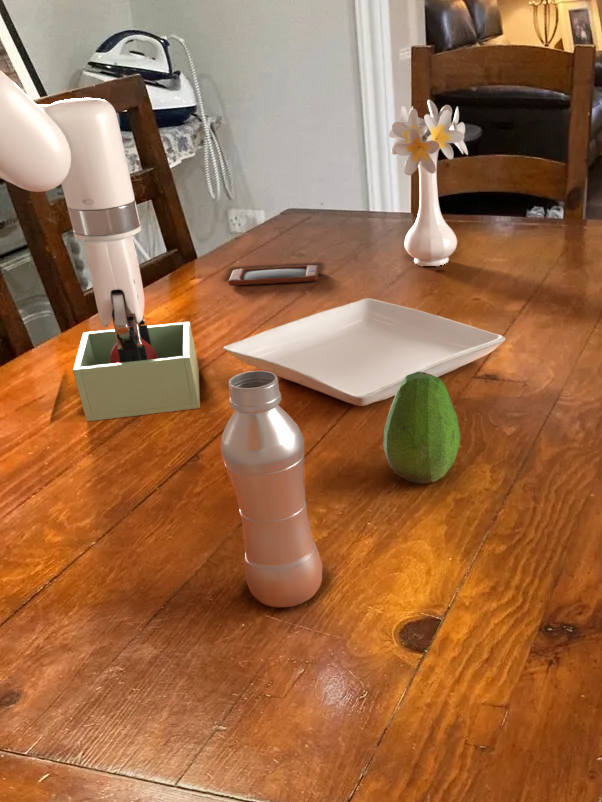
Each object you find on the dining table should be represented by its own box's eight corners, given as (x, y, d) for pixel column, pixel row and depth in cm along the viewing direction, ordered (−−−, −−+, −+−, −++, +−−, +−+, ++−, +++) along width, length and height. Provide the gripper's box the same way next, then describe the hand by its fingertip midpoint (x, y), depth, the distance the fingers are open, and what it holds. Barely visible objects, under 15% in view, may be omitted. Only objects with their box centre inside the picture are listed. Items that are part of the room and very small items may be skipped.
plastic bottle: (339, 599, 82) (312, 381, 70) (268, 626, 79) (228, 404, 67) (305, 566, 86) (275, 357, 74) (237, 591, 83) (194, 377, 71)
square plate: (362, 426, 111) (359, 395, 108) (223, 372, 126) (218, 344, 124) (508, 359, 127) (508, 331, 124) (369, 319, 142) (367, 293, 140)
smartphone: (316, 276, 158) (227, 280, 157) (317, 281, 158) (228, 286, 158) (318, 264, 163) (232, 268, 163) (319, 269, 164) (233, 274, 163)
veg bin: (86, 421, 114) (72, 370, 110) (95, 380, 125) (82, 332, 121) (199, 408, 116) (189, 357, 113) (199, 369, 127) (189, 321, 123)
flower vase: (395, 280, 158) (385, 115, 143) (398, 250, 173) (388, 98, 158) (472, 277, 158) (469, 112, 143) (468, 247, 173) (465, 95, 158)
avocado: (454, 499, 95) (450, 388, 89) (379, 494, 97) (370, 385, 90) (466, 463, 102) (464, 357, 95) (396, 460, 103) (389, 354, 96)
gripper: (78, 206, 115) (113, 347, 125) (63, 241, 101) (104, 397, 111) (141, 201, 116) (171, 341, 126) (135, 235, 102) (168, 389, 112)
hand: (139, 366), depth 119 cm, fingers open, 6 cm apart
